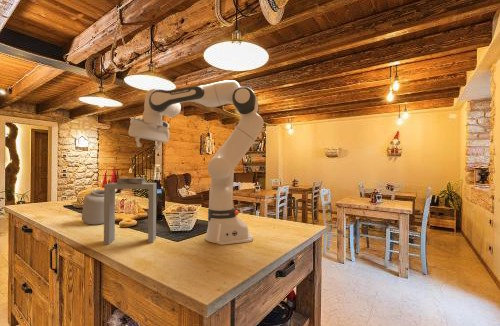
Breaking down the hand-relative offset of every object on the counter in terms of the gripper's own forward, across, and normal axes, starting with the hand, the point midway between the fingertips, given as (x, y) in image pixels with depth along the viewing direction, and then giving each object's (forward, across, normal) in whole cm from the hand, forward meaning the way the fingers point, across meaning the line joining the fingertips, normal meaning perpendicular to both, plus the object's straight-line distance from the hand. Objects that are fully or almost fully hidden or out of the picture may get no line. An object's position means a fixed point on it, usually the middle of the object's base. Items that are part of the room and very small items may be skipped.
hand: (147, 148), depth 126 cm
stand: (+43, -6, -8) cm, 45 cm away
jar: (+44, -4, +37) cm, 58 cm away
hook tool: (+17, -6, -4) cm, 19 cm away
